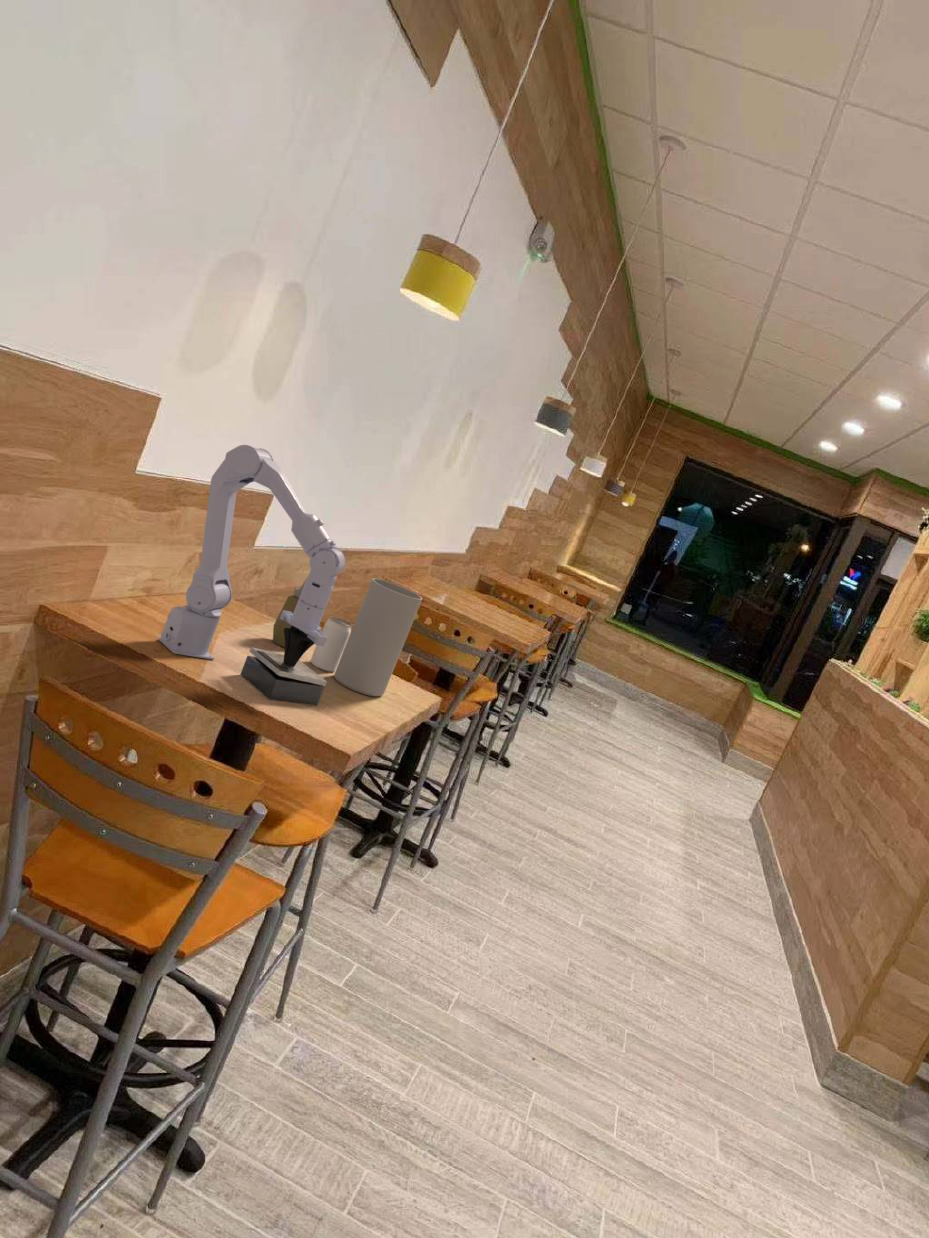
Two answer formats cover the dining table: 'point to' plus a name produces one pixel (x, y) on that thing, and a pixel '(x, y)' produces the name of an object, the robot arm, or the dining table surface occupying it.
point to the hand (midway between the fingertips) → (288, 664)
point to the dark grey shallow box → (280, 684)
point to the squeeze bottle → (280, 624)
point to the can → (331, 644)
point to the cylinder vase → (377, 637)
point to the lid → (287, 667)
